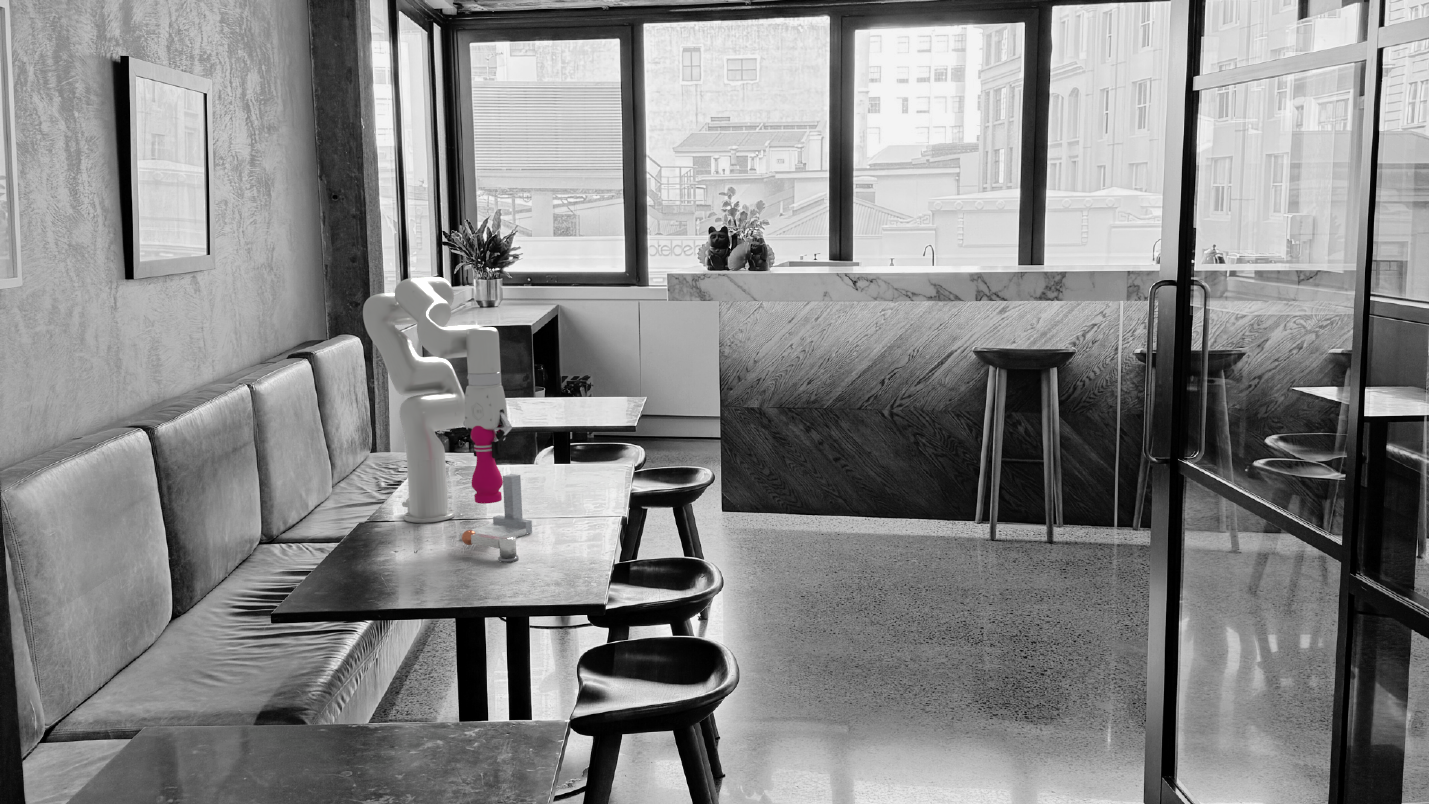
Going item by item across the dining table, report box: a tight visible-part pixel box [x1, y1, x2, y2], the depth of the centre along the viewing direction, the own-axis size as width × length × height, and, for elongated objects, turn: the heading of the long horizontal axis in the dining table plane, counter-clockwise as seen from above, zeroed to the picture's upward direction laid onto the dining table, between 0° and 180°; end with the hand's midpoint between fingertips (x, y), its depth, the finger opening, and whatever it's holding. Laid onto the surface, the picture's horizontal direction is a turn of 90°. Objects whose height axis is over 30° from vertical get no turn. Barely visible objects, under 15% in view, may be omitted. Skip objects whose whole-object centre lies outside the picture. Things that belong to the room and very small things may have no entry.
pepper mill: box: [470, 426, 503, 505], centre depth 274 cm, size 7×7×20 cm
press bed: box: [459, 473, 533, 563], centre depth 271 cm, size 26×26×13 cm
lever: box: [461, 529, 518, 558], centre depth 260 cm, size 16×4×4 cm, turn 55°
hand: (488, 455), depth 276 cm, fingers closed on pepper mill, 5 cm apart
